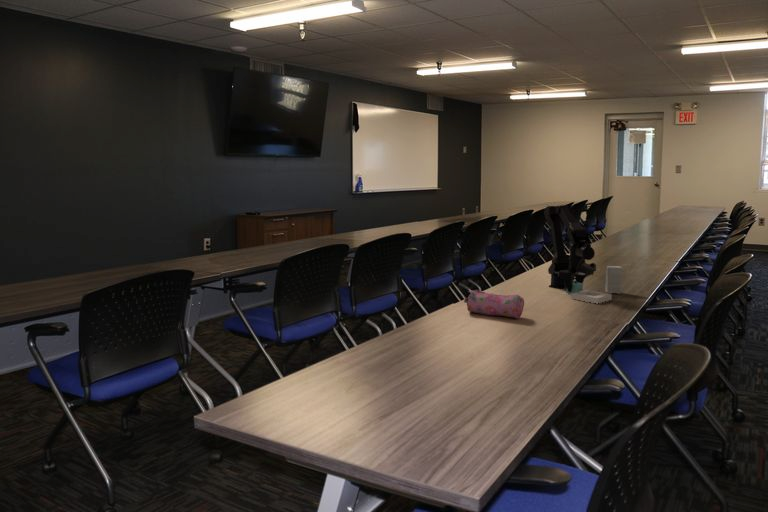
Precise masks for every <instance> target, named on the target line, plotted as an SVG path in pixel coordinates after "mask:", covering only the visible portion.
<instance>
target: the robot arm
mask: <svg viewBox="0 0 768 512" xmlns="http://www.w3.org/2000/svg"><path fill="white" fill-rule="evenodd" d="M543 215H544V217H545V221H546V222H547V223H548V225H549V226H550V232H551V233H550V234H551V239H552V241H551V242H552V247H553V257H552V259H551V263H550V266H549V267H548V269H547V270H548V271H547V272H548V274H549V275H551V276H550V285H548V287H549V288H556V289H564V288H565V287H566V289H567V290H568V292H571V290H572V285H573V281H577V282H578V283H583V284H584V281H585V279H586V278H587V277H589V276H591V275H592V276H593V275H594V273H595V272H596V271H597V264H596V263H595V262H591V263H587V262H586V261H591V260H592V259H593V258H594V257H595V256H596V255H595V254H596V252H595V249H594V248H593V247H592V244H591V239H590V237H589V235H588V233H589V232H588V231H587V230H586V228H585V227H584V226H583V225H581V224H579V223H578V222H577V220H576V219H575V217H574V215H573V214H572V213H571V211H570V207H569V205H566V204H565V205H564V204H563V205H561V204H558V205H548V206H546V207H545V208H544V210H543ZM562 223H563V224H564V226H565V228H566V230H567V231H566V232H567V233H566V235H567V237H568V240H569V241H570V242H569V243H568V246H569V254H567V253H566V250H565V244H564V237H563V231H562V230H563V229H562Z"/></svg>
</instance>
